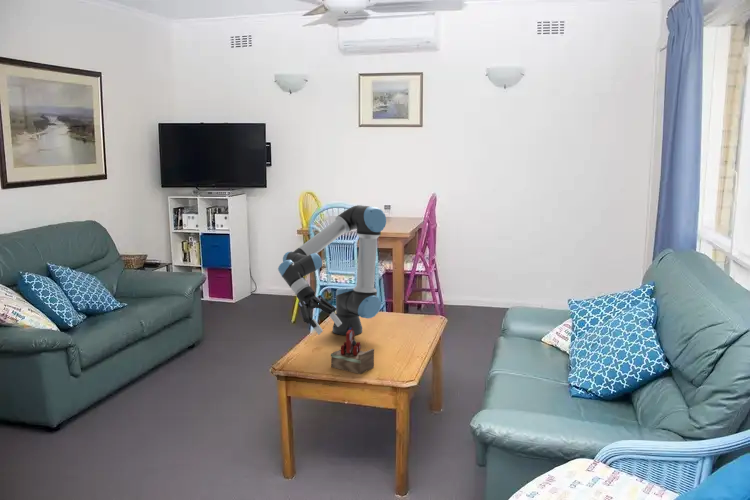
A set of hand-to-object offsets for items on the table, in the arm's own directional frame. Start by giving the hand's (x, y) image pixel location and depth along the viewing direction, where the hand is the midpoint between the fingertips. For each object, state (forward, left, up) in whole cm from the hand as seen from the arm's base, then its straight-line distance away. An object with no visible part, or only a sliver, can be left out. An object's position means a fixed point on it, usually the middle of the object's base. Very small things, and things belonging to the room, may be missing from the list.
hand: (330, 329), depth 268 cm
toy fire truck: (+11, -1, -9) cm, 14 cm away
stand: (+12, -1, -14) cm, 19 cm away
